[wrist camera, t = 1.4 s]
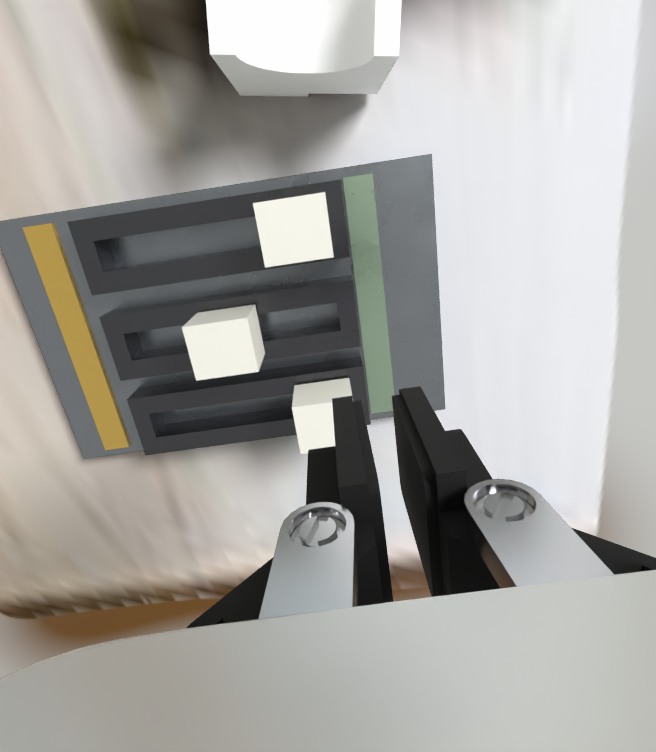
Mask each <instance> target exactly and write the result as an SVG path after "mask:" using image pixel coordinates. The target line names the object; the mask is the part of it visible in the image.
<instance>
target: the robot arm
mask: <svg viewBox="0 0 656 752" xmlns="http://www.w3.org/2000/svg"><path fill="white" fill-rule="evenodd" d="M392 405H393V415H394V425H395V435H396V445H397V455H398V465H399V475H400V484H401V490H402V495H403V498H404V502H405V505H406V509H407V512H408V516H409V519H410V523H411V526H412V530H413V533H414V537H415V540H416V544H417V547H418V551H419V554H420V558H421V561H422V565H423V568H424V572H425V575H426V579H427V582H428V586H429V589H430V593H431V595H432V597H429V598H421V599H413V600H405V601H397V602H393V596H392V588H391V580H390V571H389V563H388V555H387V546H386V538H385V530H384V522H383V513H382V505H381V497H380V490H379V483H378V477H377V472H376V468H375V463H374V458H373V454H372V449H371V444H370V440H369V435H368V430H367V426H366V421H365V416H364V412H363V407H362V402H361V400H357V401H353V398H352V396H346V397H339V398H332V406H333V420H334V434H335V446H332V447H325V448H317V449H310V450H308V469H307V495H306V505H305V506H303V507H300V508H298V509H297V510H295V511H294V512H292V513H291V514H290V515H289V516H288V517H287V518H286V519H285V520H284V522H283V524H282V526H281V529H280V533H279V537H278V541H277V545H276V549H275V553H274V557H273V558H272V559H271V560H269V561H268V562H267V563H266V564H264V565H263V566H262V567H261V568H259V569H258V570H257V571H256V572H254V573H253V574H252V575H251V576H249V577H248V578H247V579H246V580H244V581H243V582H242V583H241V584H239V585H238V586H237V587H236V588H234V589H233V590H232V591H231V592H229V593H228V594H227V595H226V596H224V597H223V598H222V599H221V600H220V601H218V602H217V603H216V604H215V605H213V606H212V607H211V608H210V609H208V610H207V611H206V612H205V613H203V614H202V615H201V616H200V617H198V618H197V619H196V620H195V621H193V622H192V623H191V624H190V625H189V626H188V627H187V628H186V629H179V630H173V631H166V632H160V633H154V634H148V635H142V636H136V637H130V638H123V639H117V640H111V641H107V642H104V643H99V644H95V645H91V646H86V647H82V648H78V649H75V650H72V651H69V652H66V653H63V654H60V655H57V656H54V657H51V658H48V659H45V660H42V661H39V662H37V663H34V664H33V665H30V666H28V667H25V668H23V669H21V670H19V671H16V672H14V673H12V674H9V675H7V676H5V677H3V678H0V752H656V558H654V557H651V556H649V555H646V554H643V553H640V552H637V551H635V550H632V549H629V548H626V547H623V546H621V545H618V544H615V543H612V542H610V541H607V540H604V539H601V538H598V537H596V536H593V535H590V534H587V533H584V532H582V531H579V530H576V529H573V528H571V527H570V526H569V525H568V524H567V523H566V522H565V521H564V520H563V519H562V517H561V516H560V515H559V514H558V513H557V512H556V511H555V510H554V509H553V508H552V507H551V506H550V504H549V503H548V502H547V501H546V500H545V499H544V498H543V497H542V496H541V495H540V494H539V493H538V492H537V491H535V490H534V489H533V488H531V487H529V486H527V485H525V484H523V483H520V482H516V481H512V480H505V479H492V477H491V476H490V474H489V473H488V471H487V469H486V468H485V466H484V465H483V463H482V461H481V460H480V458H479V457H478V455H477V453H476V452H475V450H474V449H473V447H472V445H471V444H470V442H469V441H468V439H467V437H466V436H465V434H464V433H463V431H462V430H461V429H457V430H450V431H445V430H444V428H443V427H442V425H441V423H440V421H439V419H438V417H437V416H436V414H435V412H434V410H433V408H432V407H431V405H430V403H429V401H428V399H427V397H426V396H425V394H424V392H423V390H422V388H421V387H420V386H418V387H411V388H404V389H399V395H393V396H392ZM433 596H437V597H433ZM385 602H389V603H385Z"/></svg>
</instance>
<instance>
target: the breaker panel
mask: <svg viewBox="0 0 656 752" xmlns="http://www.w3.org/2000/svg"><path fill="white" fill-rule="evenodd" d="M322 192H325V195H326V203H327V210H328V218H329V225H330V233H331V240H332V247H333V255H334V257H333V258H326V259H319V260H313V261H306V262H299V263H292V264H286V265H279V266H272V267H266V268H265V265H264V260H263V254H262V249H261V244H260V239H259V233H258V228H257V223H256V218H255V212H254V207H253V203H257V202H264V201H270V200H277V199H283V198H290V197H296V196H303V195H309V194H316V193H322ZM0 247H1V250H2V252H3V255H4V257H5V260H6V262H7V265H8V267H9V270H10V273H11V275H12V278H13V280H14V283H15V285H16V288H17V290H18V293H19V295H20V298H21V300H22V303H23V305H24V308H25V311H26V313H27V316H28V318H29V321H30V323H31V326H32V328H33V331H34V333H35V336H36V338H37V341H38V343H39V346H40V349H41V351H42V354H43V356H44V359H45V361H46V364H47V366H48V369H49V371H50V374H51V376H52V379H53V381H54V384H55V386H56V389H57V392H58V394H59V397H60V399H61V402H62V404H63V407H64V409H65V412H66V414H67V417H68V419H69V422H70V424H71V427H72V430H73V432H74V435H75V437H76V440H77V442H78V445H79V447H80V450H81V452H82V455H83V457H84V459H85V458H93V457H100V456H107V455H115V454H122V453H129V452H136V451H144V452H145V455H150V454H158V453H165V452H172V451H180V450H187V449H194V448H201V447H209V446H216V445H223V444H231V443H238V442H245V441H253V440H260V439H267V438H274V437H282V436H289V435H296V434H297V433H296V427H295V422H294V417H293V412H292V401H293V393H294V385H301V384H308V383H315V382H322V381H329V380H336V379H344V378H349V379H350V385H351V391H352V397H353V401H357V400H361V402H362V407H363V412H364V416H365V421H366V425H369V424H370V419H377V418H384V417H391V416H394V415H393V405H392V396H393V395H399V389H404V388H411V387H418V386H420V387H421V388H422V390H423V392H424V394H425V396H426V397H427V399H428V401H429V403H430V405H431V407H432V408H433V410H434V411H435V410H442V409H445V395H444V376H443V357H442V338H441V320H440V301H439V282H438V263H437V244H436V225H435V207H434V188H433V169H432V154H428V155H421V156H415V157H409V158H402V159H396V160H389V161H383V162H376V163H370V164H364V165H357V166H351V167H344V168H338V169H331V170H325V171H319V172H312V173H306V174H299V175H293V176H287V177H280V178H274V179H267V180H261V181H254V182H248V183H242V184H235V185H229V186H222V187H216V188H209V189H203V190H197V191H190V192H184V193H177V194H171V195H164V196H158V197H152V198H145V199H139V200H132V201H126V202H120V203H113V204H107V205H100V206H94V207H87V208H81V209H75V210H68V211H62V212H55V213H49V214H42V215H36V216H30V217H23V218H17V219H10V220H4V221H0ZM254 304H255V306H256V311H257V316H258V320H259V325H260V330H261V335H262V340H263V345H264V350H265V355H264V358H263V361H262V364H261V366H260V369H259V372H254V373H247V374H240V375H233V376H226V377H219V378H212V379H205V380H198V381H196V378H195V375H194V371H193V367H192V364H191V360H190V356H189V352H188V349H187V345H186V341H185V338H184V334H183V330H182V327H183V326H184V325H185V324H186V323H187V322H188V321H189V320H190V319H191V318H192V317H193V316H194V315H195V314H196V313H199V312H206V311H213V310H220V309H227V308H233V307H240V306H247V305H254Z"/></svg>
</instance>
